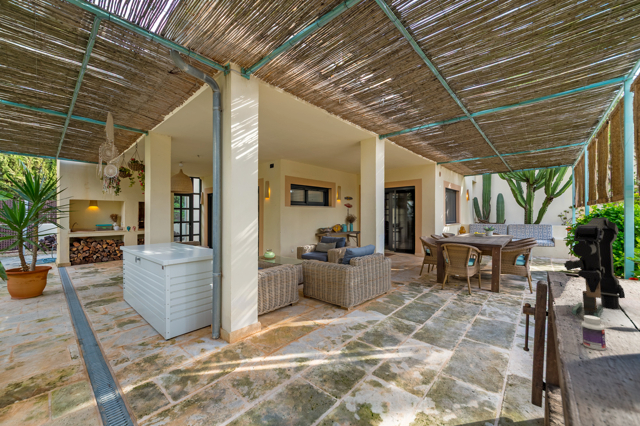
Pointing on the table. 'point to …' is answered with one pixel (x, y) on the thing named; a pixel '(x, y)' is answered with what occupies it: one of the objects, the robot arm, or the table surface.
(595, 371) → the table surface
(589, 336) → the pill bottle
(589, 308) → the mounted finger
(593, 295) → the block
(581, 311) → the rail
